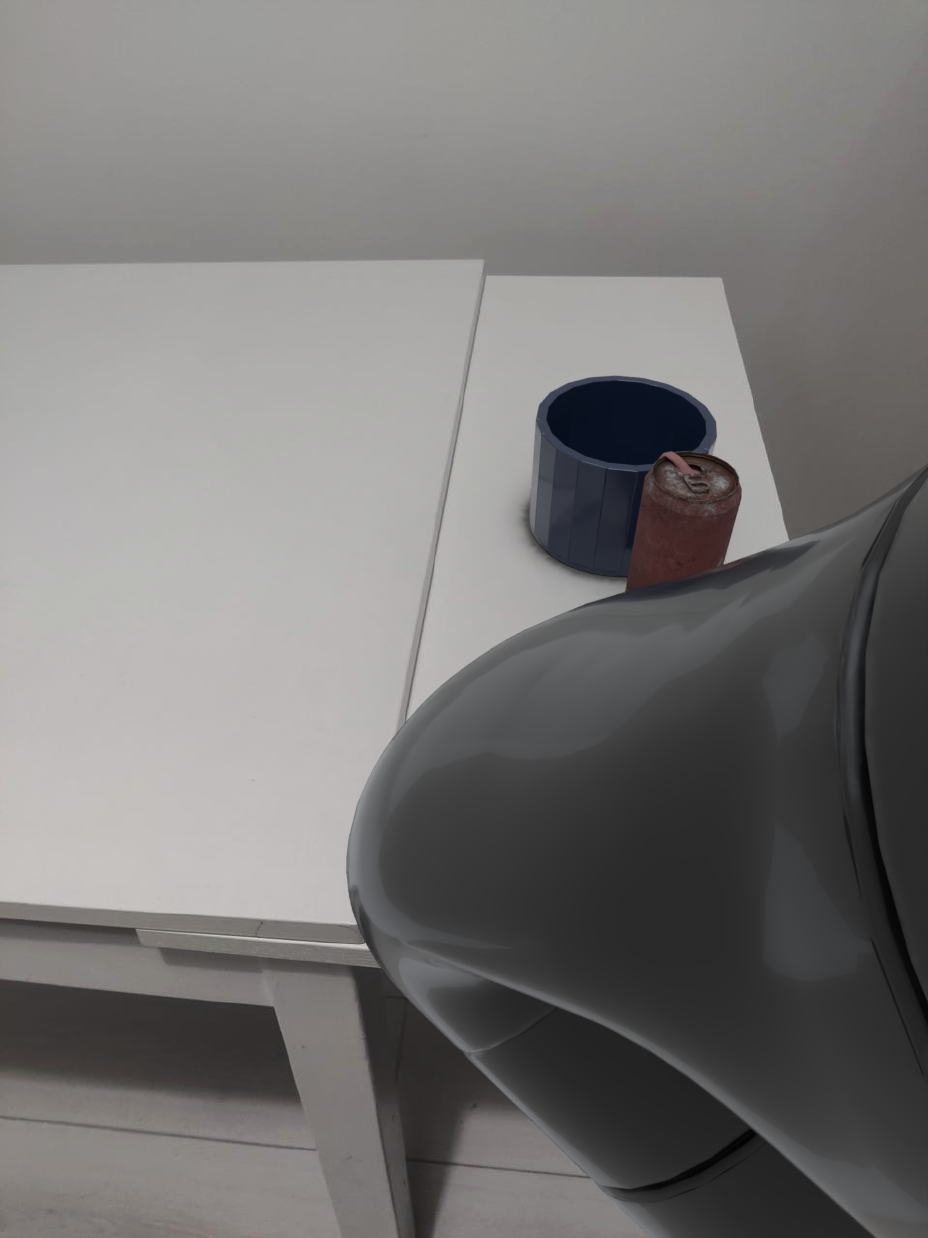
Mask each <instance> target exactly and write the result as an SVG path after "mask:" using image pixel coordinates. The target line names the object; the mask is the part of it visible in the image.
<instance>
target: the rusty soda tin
mask: <svg viewBox="0 0 928 1238" xmlns="http://www.w3.org/2000/svg"><path fill="white" fill-rule="evenodd" d="M742 494H743V489H742V486H741V483H740V476H739V474H738V472H737V471H736V469H735V468H734V467H733V466H732V465H731V464H730V463H729V462H728V461H726V460H724V459H722V458H720V457H718V456H716V455H709V454H706V453H701V452H694V451H682V452H666V453H663V454H662V455H661V456H660V458H659V459H658V460H657V461H656V462H655V464H654V465H653V467H652V468H651V470H650V471H649V472H648V473H647V475H646V476H645V481H644V486H643V492H642V498H641V504H640V509H639V515H638V521H637V526H636V532H635V538H634V544H633V549H632V555H631V561H630V566H629V572H628V576H627V579H626V583H625V584H626V585H625V590H624V592H626V591H630V590H634V589H637V588H641V587H645V586H648V585H652V584H656V583H660V582H664V581H668V580H671V579H675V578H679V577H683V576H687V575H691V574H694V573H698V572H701V571H704V570H707V569H710V568H714V567H717V566H720V565H723V564H725V560H726V557H727V553H728V550H729V545H730V542H731V539H732V535H733V531H734V527H735V523H736V519H737V516H738V514H739V513H738V512H739V509H740V505H741V501H742Z"/></svg>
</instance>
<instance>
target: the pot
mask: <svg viewBox="0 0 928 1238" xmlns="http://www.w3.org/2000/svg"><path fill="white" fill-rule="evenodd" d="M717 437H718V430H717V420H716V418H715V417H714V416H713V415H712V413H711V411H710V410H709V408H708V406H707V405H705V404H704V403H703V402H701V401H700V400H699V399H697V398H696V397H695V396H693V395H692V394H691V393H689V392H687V391H685V390H683V389H680V388H678V387H675V386H673V385H672V384H668V383H665V382H662V381H658V380H653V379H649V378H646V377H639V376H628V375H627V376H626V375H601V376H590V377H585V378H581V379H578V380H574V381H569V382H567V383H565V384H563V385H561V386H559V387H557V388H555V389H553V390H552V391H550V392H549V393H547V395H546V396H545V397H544V399H542V401H541V402H540V403H539V404H538V407H537V413H536V417H535V427H534V439H533V442H534V444H533V454H532V455H533V456H532V457H533V458H532V469H531V484H530V501H529V503H530V504H529V514H528V517H529V526H530V530H531V533H532V535H533V537H534V539H535V541H536V542H537V544H538V545H539V546H540V547H541V549H543V550H544V551H545V552H546V553H548V555H550V556H551V557H552V558H554V559H555V560H557V561H559V562H560V563H562V564H564V565H566V566H568V567H570V568H574V569H576V570H579V571H582V572H586V573H589V574H594V575H599V576H606V577H620V578H621V577H628V572H629V566H630V561H631V555H632V549H633V544H634V538H635V532H636V526H637V521H638V515H639V509H640V504H641V498H642V492H643V486H644V481H645V476H646V475H647V473H648V472H649V471H650V470H651V468H652V467H653V465H654V464H655V462H656V461H657V460H658V459H659V458H660V456H661V455H662V454H663V453H666V452H682V451H694V452H701V453H706V454H709V455H713V454H714V451H715V446H716V443H717ZM713 456H714V455H713Z"/></svg>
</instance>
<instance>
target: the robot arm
mask: <svg viewBox="0 0 928 1238" xmlns="http://www.w3.org/2000/svg"><path fill="white" fill-rule="evenodd" d="M364 784H365V785H364V786H363V789H362V791H361V794H360V795H359V796H360V797H359V799H358V802H357V803H356V807H355V810H354V815H353V819H352V822H351V827H350V831H349V835H348V840H347V848H346V855H345V864H346V865H345V866H346V867H345V873H346V882H347V891H348V899H349V903H350V907H351V911H352V914H353V917H354V919H355V922H356V925H357V927H358V930H359V933H360V935H361V937H362V939H363V941H364V943H365V946H366V947H367V948H368V950H369V952H370V954H371V955H372V957H373V958H374V960H375V961H376V963H377V965H378V966H379V967H380V969H381V970H382V972H384V974H385V975H386V977H387V978H388V979H389V980H390V981H391V982H392V983H393V984H394V986H395V987H396V988H397V989H398V990H399V992H401V993H402V995H403V996H404V997H405V999H407V1001H409V1003H411V1005H413V1007H414V1008H415V1009H416V1010H417V1011H418V1012H419V1013H420V1014H421V1015H423V1017H425V1019H426V1020H428V1022H429V1023H431V1025H433V1027H434V1028H436V1030H438V1031H439V1032H440V1033H441V1034H442V1035H443V1036H444V1037H445V1039H446V1040H448V1041H449V1043H450V1044H452V1045H453V1046H454V1047H455V1048H456V1049H457V1050H460V1051H462V1053H463V1055H464V1056H465V1057H466V1058H467V1059H468V1060H469V1061H470V1062H471V1063H472V1064H473V1065H474V1066H475V1067H476V1068H477V1069H478V1070H479V1071H480V1072H481V1073H482V1074H483V1075H484V1076H485V1077H486V1078H487V1079H488V1080H489V1081H490V1082H491V1083H492V1084H494V1086H495V1087H496V1088H498V1090H500V1092H501V1093H502V1094H504V1095H505V1097H507V1098H508V1100H510V1102H511V1103H512V1104H514V1105H515V1107H517V1108H518V1109H519V1111H521V1112H522V1114H524V1115H525V1116H526V1118H528V1119H529V1120H530V1121H531V1122H532V1124H534V1125H535V1126H536V1127H537V1128H538V1129H539V1130H540V1131H541V1132H542V1133H543V1134H544V1135H545V1136H546V1137H547V1138H548V1139H549V1140H550V1141H551V1142H552V1143H553V1144H554V1145H555V1146H556V1147H557V1148H558V1149H560V1151H561V1152H562V1153H563V1154H564V1155H565V1156H566V1157H567V1158H568V1159H569V1160H571V1162H573V1163H574V1164H575V1166H577V1167H578V1168H579V1169H580V1170H581V1172H583V1173H584V1174H585V1175H587V1176H588V1177H590V1178H591V1179H592V1181H593V1182H594V1183H595V1185H596V1186H597V1187H598V1188H599V1189H600V1190H601V1192H603V1193H604V1194H605V1195H606V1196H607V1197H608V1198H609V1199H610V1201H612V1202H613V1203H614V1204H615V1205H616V1206H617V1207H618V1208H619V1209H620V1210H621V1211H622V1212H623V1213H624V1214H625V1215H626V1216H628V1218H629V1219H630V1220H631V1221H632V1222H633V1223H634V1224H635V1225H636V1226H638V1228H640V1230H642V1232H643V1233H645V1234H646V1235H647V1237H649V1238H928V463H926V464H925V465H923V466H922V467H921V468H919V469H918V470H916V472H914V473H912V474H911V475H910V476H908V477H907V478H906V479H904V480H903V481H901V482H900V483H898V484H897V485H895V486H893V487H892V488H891V489H890V490H888V491H886V492H885V493H883V495H881V496H880V497H878V498H877V499H874V500H873V501H872V502H870V503H868V504H866V505H865V506H863V507H861V508H859V509H858V510H857V511H855V512H852V513H851V514H849V515H847V516H845V517H843V518H841V519H839V520H837V521H835V522H832V523H830V524H827V525H825V526H823V527H820V528H818V529H817V528H816V529H815V530H812V531H810V532H808V533H805V534H802V535H800V536H797V537H795V538H793V539H790V540H788V541H785V542H782V543H780V544H777V545H774V546H772V547H769V548H767V549H764V550H761V551H757V552H755V553H752V554H749V555H747V556H744V557H740V558H738V559H735V560H732V561H730V562H726V563H724V564H723V565H720V566H717V567H714V568H710V569H707V570H704V571H701V572H698V573H694V574H691V575H687V576H683V577H679V578H675V579H671V580H668V581H664V582H660V583H656V584H652V585H648V586H645V587H641V588H637V589H634V590H630V591H626V592H625V591H624V592H623V591H622V592H619V593H616V594H613V595H610V596H607V597H604V598H600V599H597V600H594V601H589V602H587V603H584V604H582V605H579V606H577V607H573V608H572V609H570V610H567V611H564V612H562V613H560V614H558V615H555V616H553V617H550V618H548V619H546V620H543V621H542V622H539V623H537V624H535V625H532V626H530V627H528V628H525V629H523V630H521V631H519V632H517V633H516V634H514V635H512V636H510V637H508V638H506V639H505V640H503V641H501V642H500V643H498V644H496V645H495V646H493V647H491V648H490V649H488V650H487V651H485V652H484V653H483V654H481V655H480V656H478V657H476V658H475V659H473V660H472V661H471V662H469V663H468V664H467V665H465V666H463V668H461V669H459V671H457V672H456V673H454V674H453V675H452V676H451V677H450V678H448V679H447V680H446V681H445V682H443V683H442V684H441V685H440V686H439V687H438V688H436V690H434V691H433V693H431V694H430V695H429V696H428V697H427V698H426V699H425V700H424V701H423V702H422V703H421V704H420V705H419V706H418V707H417V709H416V710H415V711H414V712H413V713H412V714H411V715H410V716H409V717H408V718H407V719H406V720H405V722H404V723H403V724H402V726H401V727H400V728H399V729H398V730H397V732H396V733H395V734H394V735H393V737H392V738H391V740H390V741H389V743H388V744H387V746H386V747H385V748H384V749H383V751H382V753H381V754H380V756H379V758H378V760H377V762H376V763H375V765H374V767H373V768H372V770H371V772H370V774H369V776H368V778H367V780H366V783H364Z"/></svg>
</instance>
